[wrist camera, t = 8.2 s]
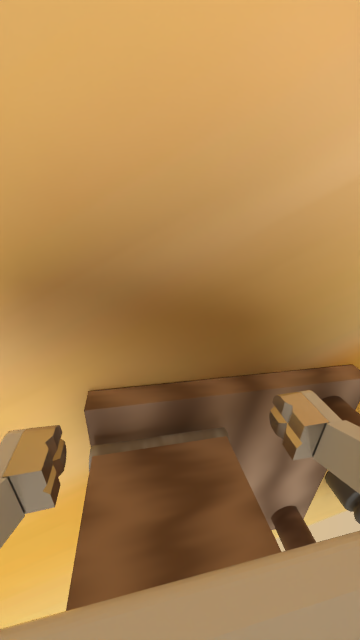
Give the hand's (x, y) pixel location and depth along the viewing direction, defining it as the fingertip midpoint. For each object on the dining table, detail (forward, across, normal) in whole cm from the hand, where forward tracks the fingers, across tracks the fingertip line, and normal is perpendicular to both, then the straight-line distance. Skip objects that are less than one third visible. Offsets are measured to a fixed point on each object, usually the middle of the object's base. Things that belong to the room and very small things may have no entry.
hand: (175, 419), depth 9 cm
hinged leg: (+6, 0, +10) cm, 11 cm away
